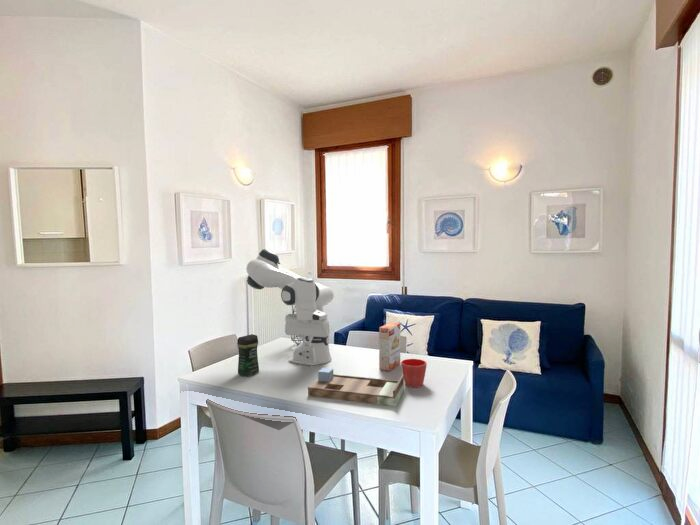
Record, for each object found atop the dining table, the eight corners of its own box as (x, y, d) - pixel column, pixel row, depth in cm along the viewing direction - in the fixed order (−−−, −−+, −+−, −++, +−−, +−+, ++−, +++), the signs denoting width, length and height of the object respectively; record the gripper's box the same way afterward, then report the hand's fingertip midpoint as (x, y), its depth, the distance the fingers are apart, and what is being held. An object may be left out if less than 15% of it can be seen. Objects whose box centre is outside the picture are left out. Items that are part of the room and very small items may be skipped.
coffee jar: (246, 378, 178) (244, 338, 177) (235, 375, 183) (233, 336, 182) (262, 372, 186) (260, 334, 185) (251, 369, 190) (250, 332, 189)
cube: (318, 380, 165) (318, 371, 164) (323, 376, 169) (322, 367, 169) (329, 381, 163) (329, 372, 163) (333, 377, 168) (333, 368, 168)
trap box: (308, 395, 156) (307, 381, 156) (324, 381, 172) (323, 368, 172) (395, 406, 144) (395, 390, 144) (403, 389, 160) (403, 375, 160)
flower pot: (409, 378, 174) (409, 356, 174) (431, 383, 167) (430, 361, 167) (396, 385, 166) (396, 362, 165) (419, 390, 159) (418, 367, 158)
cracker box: (390, 371, 183) (389, 328, 182) (378, 370, 186) (378, 327, 185) (401, 363, 195) (400, 322, 194) (390, 361, 198) (389, 321, 197)
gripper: (281, 314, 168) (282, 346, 169) (325, 316, 161) (325, 349, 162) (288, 312, 174) (289, 342, 175) (330, 314, 167) (331, 345, 168)
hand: (307, 345), depth 168 cm, fingers closed
